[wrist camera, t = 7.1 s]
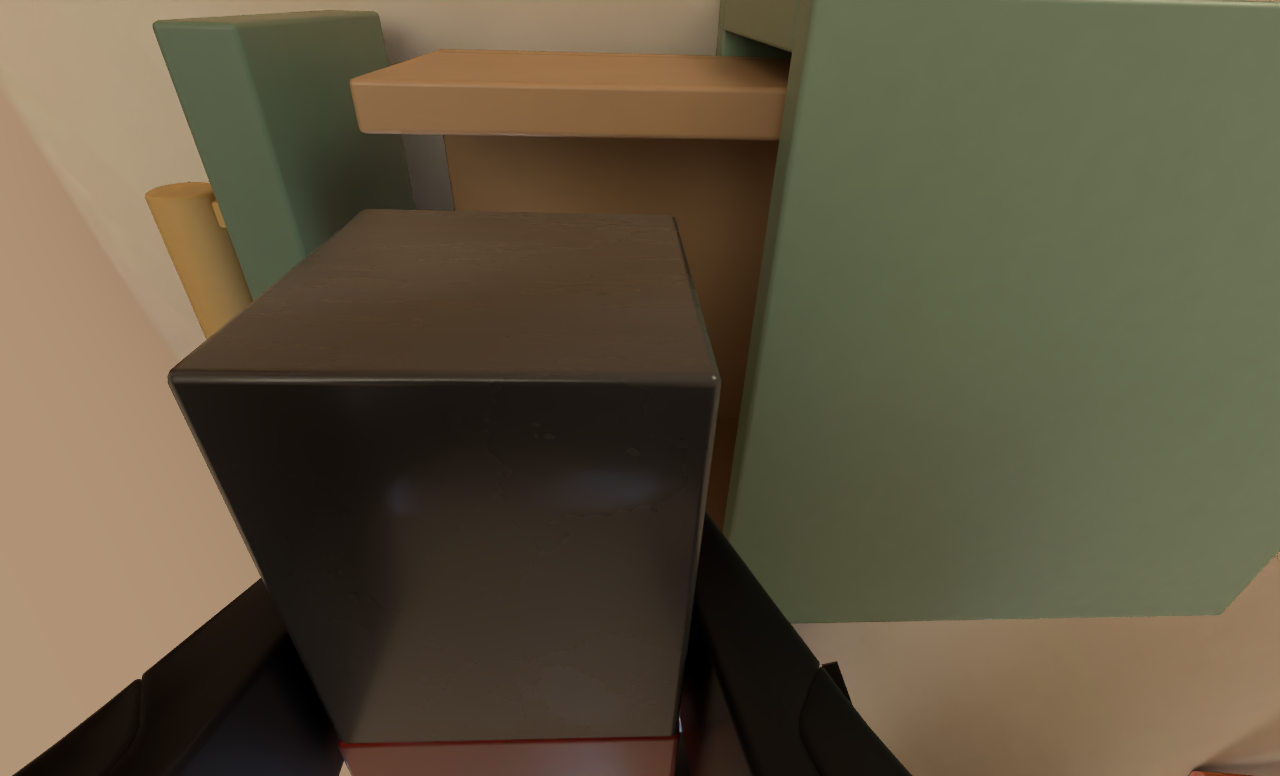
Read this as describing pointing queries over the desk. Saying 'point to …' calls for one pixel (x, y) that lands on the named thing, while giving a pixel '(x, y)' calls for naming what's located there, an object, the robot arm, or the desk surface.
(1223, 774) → the purple and orange maraca
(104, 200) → the desk surface
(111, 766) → the robot arm
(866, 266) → the cabinet
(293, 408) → the black red-striped block
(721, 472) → the drawer
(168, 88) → the desk surface
